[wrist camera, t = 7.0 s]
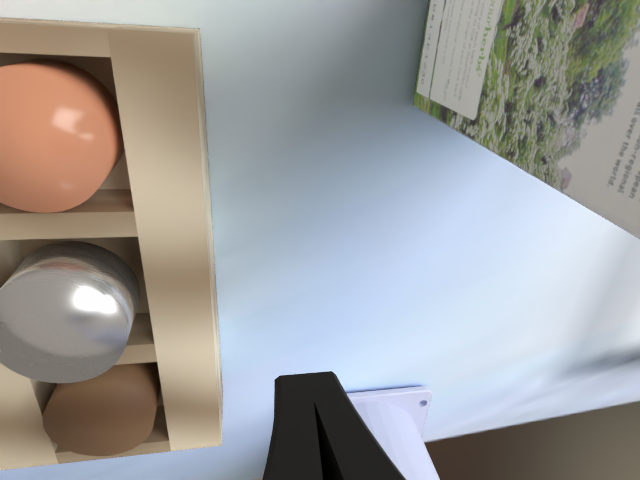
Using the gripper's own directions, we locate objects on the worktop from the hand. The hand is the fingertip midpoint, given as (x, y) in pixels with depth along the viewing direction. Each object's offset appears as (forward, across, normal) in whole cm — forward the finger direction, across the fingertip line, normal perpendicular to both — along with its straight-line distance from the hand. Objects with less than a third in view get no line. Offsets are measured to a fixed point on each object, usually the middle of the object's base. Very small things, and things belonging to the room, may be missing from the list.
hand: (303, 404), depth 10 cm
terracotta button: (+8, +7, -5) cm, 12 cm away
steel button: (+7, +7, +1) cm, 10 cm away
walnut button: (+8, +7, +7) cm, 13 cm away
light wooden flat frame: (+9, +7, +1) cm, 12 cm away
